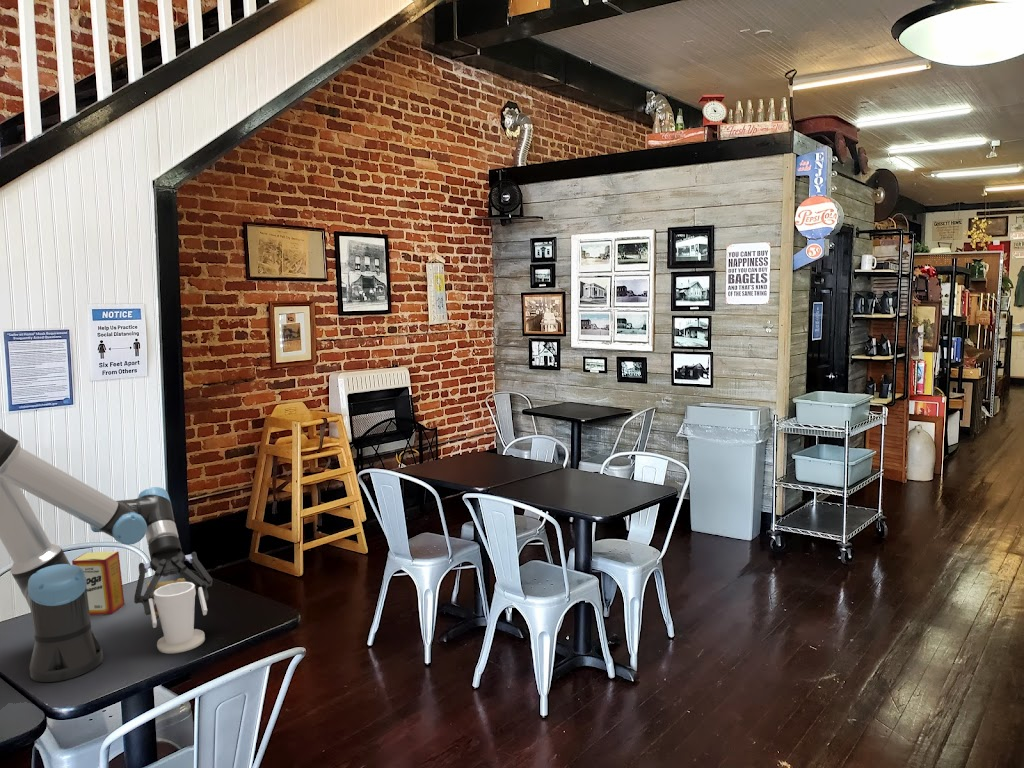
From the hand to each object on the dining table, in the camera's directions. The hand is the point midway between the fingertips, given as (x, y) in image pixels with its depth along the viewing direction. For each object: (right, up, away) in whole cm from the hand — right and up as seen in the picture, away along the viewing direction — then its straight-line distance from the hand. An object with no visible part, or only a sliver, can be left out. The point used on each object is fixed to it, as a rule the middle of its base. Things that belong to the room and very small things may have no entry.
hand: (180, 618), depth 192 cm
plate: (-1, -7, +3) cm, 8 cm away
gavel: (-17, -5, +29) cm, 34 cm away
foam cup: (-1, -6, +3) cm, 7 cm away
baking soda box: (-34, -6, +27) cm, 44 cm away
